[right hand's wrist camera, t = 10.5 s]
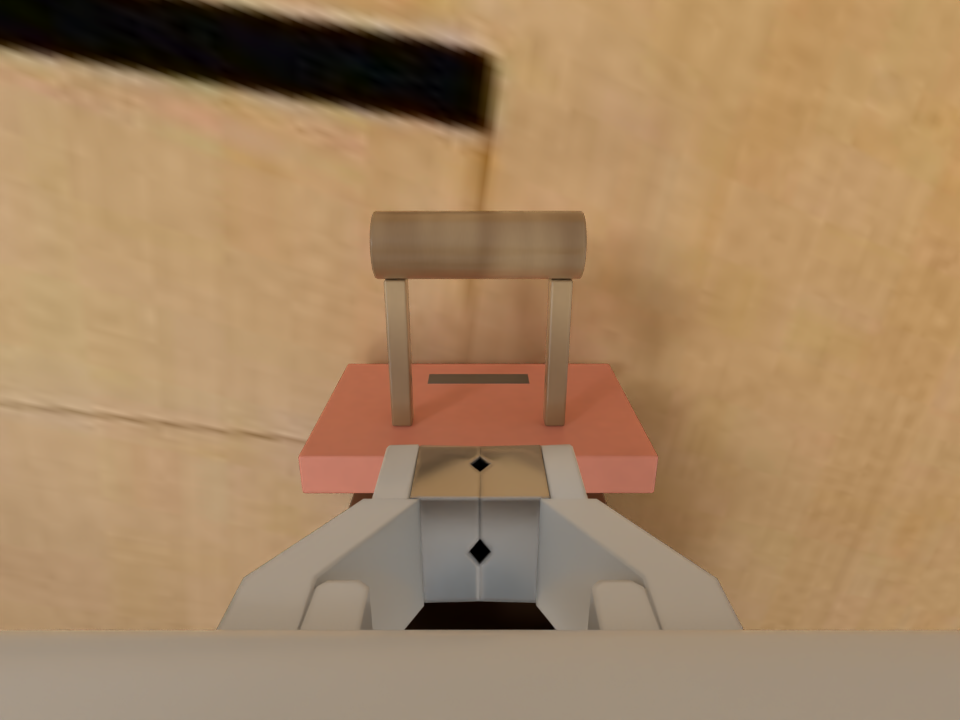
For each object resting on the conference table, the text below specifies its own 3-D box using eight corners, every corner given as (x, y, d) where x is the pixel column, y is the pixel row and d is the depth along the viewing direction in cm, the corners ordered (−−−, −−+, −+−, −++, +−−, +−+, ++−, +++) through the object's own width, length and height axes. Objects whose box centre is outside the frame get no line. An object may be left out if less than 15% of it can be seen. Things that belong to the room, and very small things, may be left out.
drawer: (333, 191, 20) (267, 223, 14) (623, 191, 20) (688, 223, 14) (376, 707, 29) (348, 869, 23) (580, 707, 29) (608, 869, 23)
